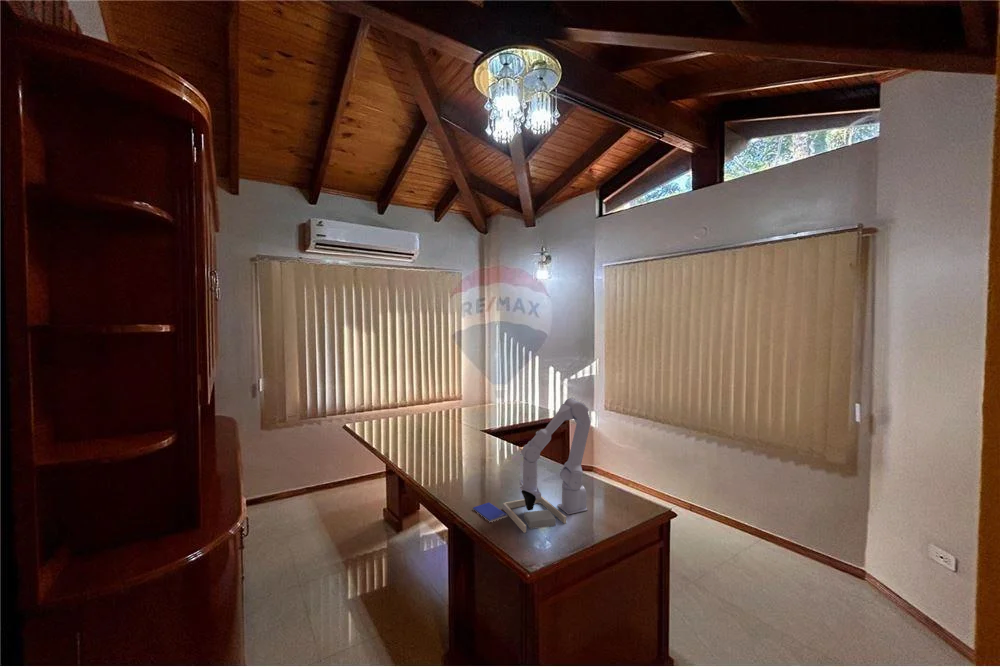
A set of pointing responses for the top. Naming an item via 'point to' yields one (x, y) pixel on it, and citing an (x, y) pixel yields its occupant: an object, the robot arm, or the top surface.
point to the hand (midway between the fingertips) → (529, 509)
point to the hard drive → (490, 512)
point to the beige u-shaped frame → (519, 503)
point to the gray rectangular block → (539, 519)
